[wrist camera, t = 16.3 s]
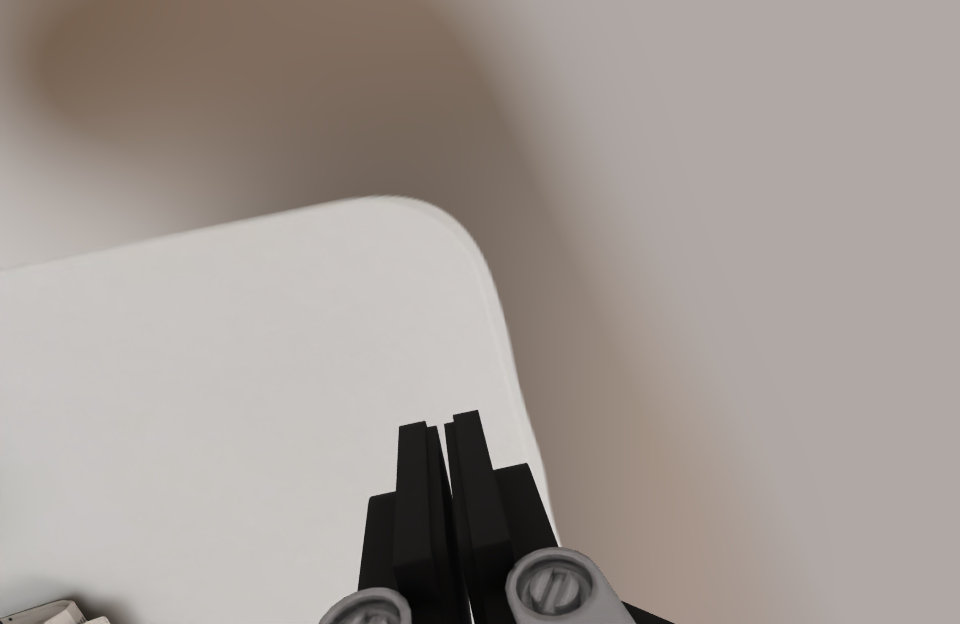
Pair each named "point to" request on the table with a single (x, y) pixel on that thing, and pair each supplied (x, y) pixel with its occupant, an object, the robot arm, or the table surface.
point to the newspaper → (53, 615)
